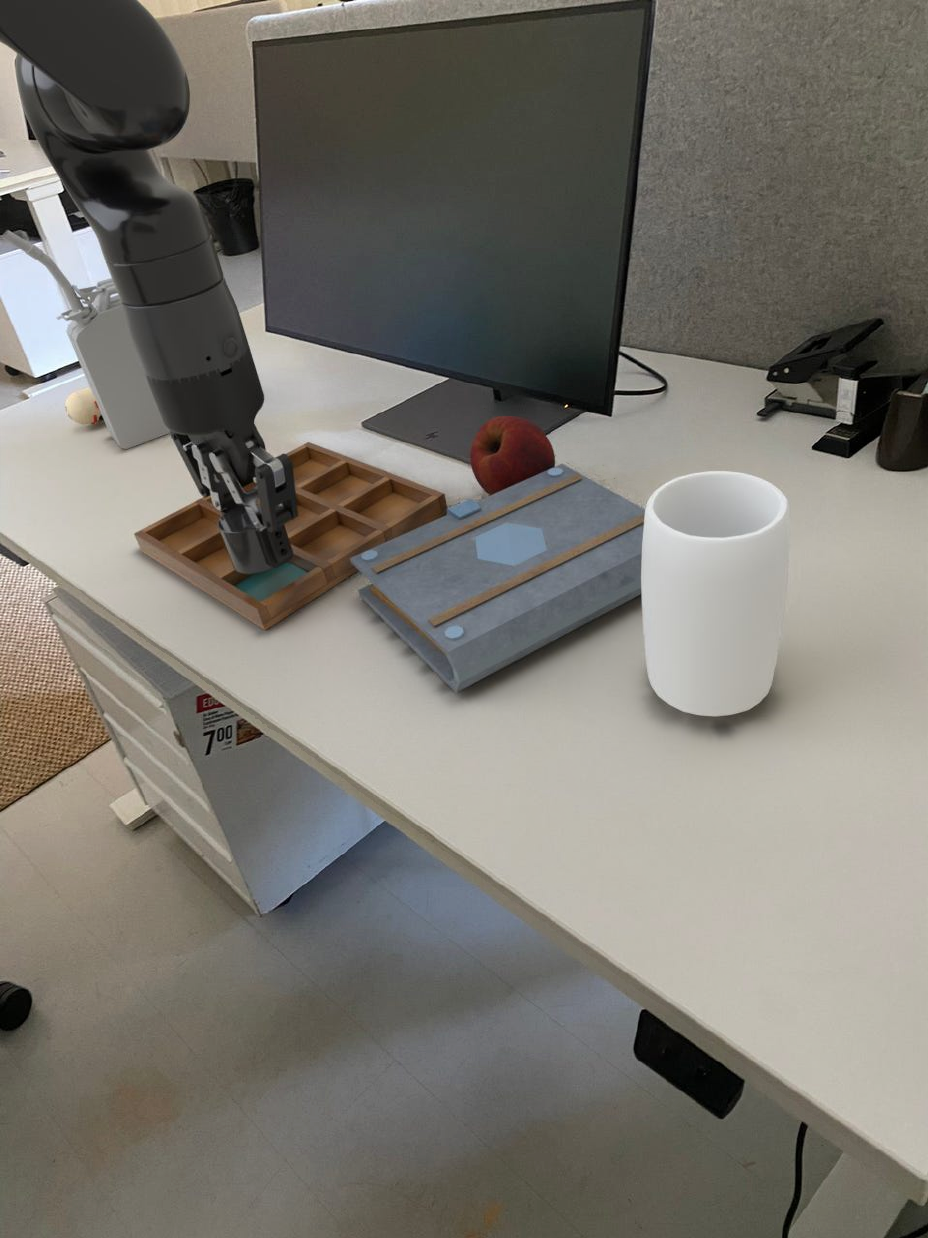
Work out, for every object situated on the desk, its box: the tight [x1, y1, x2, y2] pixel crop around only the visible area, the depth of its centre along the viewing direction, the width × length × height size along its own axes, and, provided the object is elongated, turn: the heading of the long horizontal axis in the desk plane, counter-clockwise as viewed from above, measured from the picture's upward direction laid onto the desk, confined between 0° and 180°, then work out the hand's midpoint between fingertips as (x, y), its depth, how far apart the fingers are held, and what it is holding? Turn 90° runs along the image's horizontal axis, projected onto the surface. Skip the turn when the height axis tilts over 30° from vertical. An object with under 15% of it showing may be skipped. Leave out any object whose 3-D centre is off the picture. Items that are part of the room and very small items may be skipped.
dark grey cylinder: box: [218, 503, 272, 574], centre depth 71 cm, size 4×4×4 cm
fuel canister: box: [1, 229, 170, 450], centre depth 98 cm, size 15×5×25 cm, turn 123°
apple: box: [469, 415, 556, 496], centre depth 79 cm, size 7×8×8 cm
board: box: [133, 441, 448, 631], centre depth 81 cm, size 21×21×2 cm
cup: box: [641, 470, 790, 717], centre depth 54 cm, size 8×8×14 cm
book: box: [350, 463, 646, 693], centre depth 68 cm, size 21×16×5 cm
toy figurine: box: [64, 386, 104, 425], centre depth 110 cm, size 8×4×12 cm
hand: (263, 552), depth 72 cm, fingers closed on dark grey cylinder, 4 cm apart
